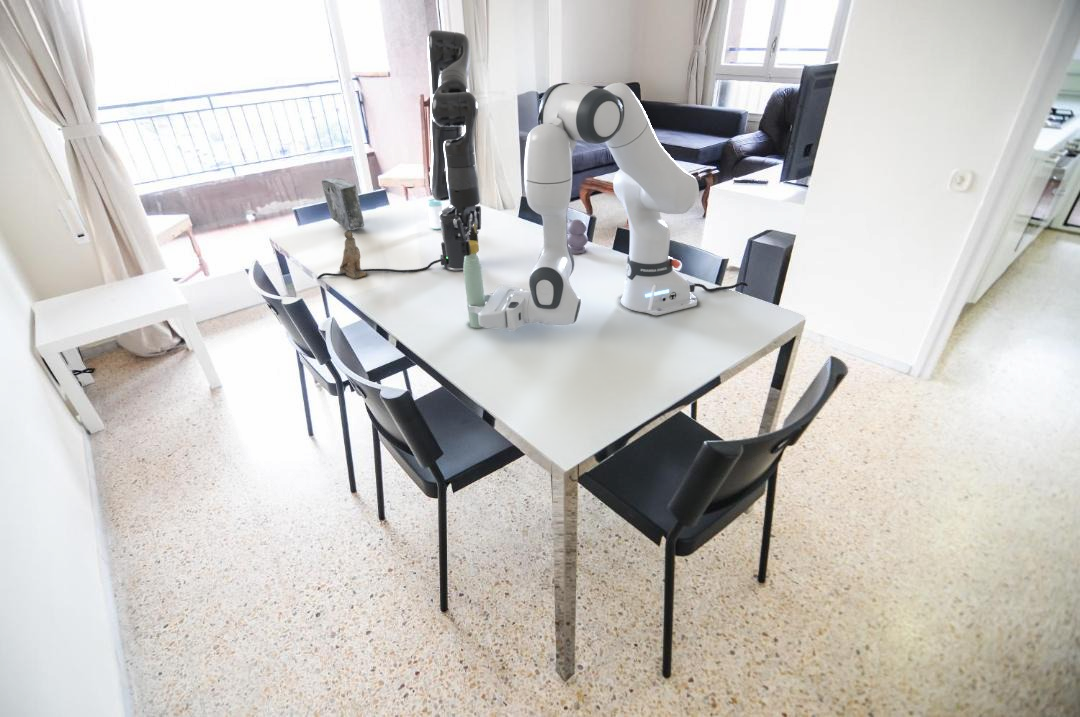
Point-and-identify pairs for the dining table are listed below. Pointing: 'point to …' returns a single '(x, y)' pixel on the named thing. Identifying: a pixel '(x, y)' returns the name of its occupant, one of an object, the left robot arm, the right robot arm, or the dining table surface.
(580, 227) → the cat figurine
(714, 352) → the dining table surface
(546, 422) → the dining table surface
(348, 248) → the brown carved statuette
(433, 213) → the white lidded cup
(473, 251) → the cap
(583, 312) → the dining table surface
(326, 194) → the concrete block
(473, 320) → the bottle
